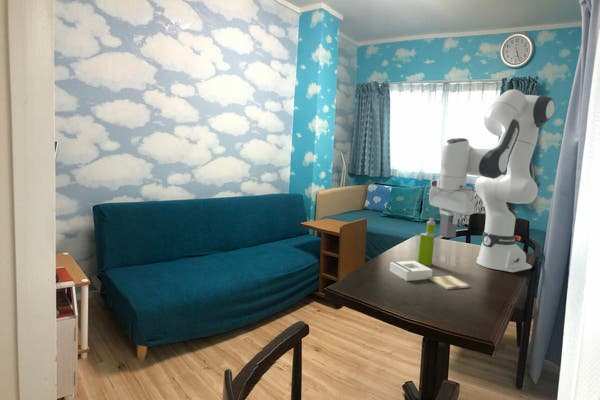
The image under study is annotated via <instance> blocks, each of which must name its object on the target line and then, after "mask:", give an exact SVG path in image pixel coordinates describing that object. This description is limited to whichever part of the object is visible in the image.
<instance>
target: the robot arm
mask: <svg viewBox="0 0 600 400" xmlns="http://www.w3.org/2000/svg"><path fill="white" fill-rule="evenodd" d="M554 112H555V101H554V99H553V98H552V97H551V96H549V95H544V94H543V95H536V94H524V93H523V92H522V91H521V90H519V89H508V90H505V92H503V93H501V95H499V97H497V99H496V100H495V101H494V102H493V103H492V104H491V106H490V107H489V108H488V110H487V111H486V113H485V115H484V118H483V124H484V126H485V129H486V130H487V131H488V132H489V133H491V134H492V135H493V136H497V137H499V140H498V142H497V145H495V146H494V147H492V148H476V147H475V148H474V147H473V146H471V145H470V143H469V142H470V141H469V139H468V138H462V137H459V138H450V139H447V140H446V141H445V143H444V145H443V149H442V154H441V162H440V163H441V167H442V168H441V172H440V175H439V177H440V178H436V179H433V180H431V181H430V185H429V186H430V188H429V195H428V196H429V197H428V202H429V205H430V206H432V207H436V208H439V210H438V211H439V214H440V215H441V211H453V212H454V217H453V219H451V223H452V224H457V225H458V223H459V219H460V217H461V216H462V215H467V216H468V215H469V216H470V215H473V214H474V213H475V211H476V202H475V201H476V199H475V193H476V195H477V196H479V198H480V200H481V201H482V203H483V207H484V210H485V211H484V212H485V222H484V223H485V224H484V230H483V232H482V242H481V245H480V248H479V253H478V256H477V257H476V264H477V265H479V266H481V267H484V268H488V269H493V270H497V271H498V270H499V271H504V272H509V273H516V272H521V271H525V270H530V269H532V268H533V267H532V265H531V264H529V263H528V262H527V254H526V252H525V251H524V250H522V248H520V247H519V246H518V244H517V243H516V241H517V242H520V241H521V239H522V237H521V236H520V235H514V234H515V226H516V216H515V214H514V213H513V212H512V211H510V209H509V208H508V206H507V203H509V204H516V205H517V204H519V205H520V204H521V205H522V204H526V205H527V204H532V202H533V201H534V200H536V198H537V196H538V193H539V188H538V184H537V182H536V181H535V180H534V179H533V177H532V175H531V172H530V165H531V160H532V157H533V154H534V152H535V148H536V145H537V141H538V137H539V131H540V128H541V127H542V126H543V125H544V124H546V123H547V122H549V120H550V119H551V118H552V116H553V115H554ZM505 172H506V174H505V175H504V173H505ZM468 175H471V176H477V177H478V178H477V179H476V181H475V183H474V190H473V189H472V187H470V186H467V179H468Z"/></svg>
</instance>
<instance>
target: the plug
mask: <svg viewBox="0 0 600 400" xmlns="http://www.w3.org/2000/svg"><path fill="white" fill-rule="evenodd" d="M453 217H454V212H453V211H450V210H446V211H441V214H440V222H439V231H438V235H439V236H441V237H444V238H447V239H449V238H456V237H457V228H458V223H457V224H452V223H451V219H453Z"/></svg>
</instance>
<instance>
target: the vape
mask: <svg viewBox="0 0 600 400" xmlns="http://www.w3.org/2000/svg"><path fill="white" fill-rule="evenodd" d="M435 230H436V221H435V220H434V217H429V220H428V221H426V231H425V232H421V233H419V243H418V244H419V245H418V255H417V262H418V263H420V264H422V265H424V266H426V267H428V266H432V265H433V257H434V256H433V255H434V246H435V237H436V236H435Z"/></svg>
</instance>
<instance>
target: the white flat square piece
mask: <svg viewBox="0 0 600 400" xmlns="http://www.w3.org/2000/svg"><path fill="white" fill-rule="evenodd" d="M389 271H390V273H393V274H394V275H396V276H398V277H399V278H401V279H402V280H404V281H406V282H409V281H420V280H421V281H422V280H429V277H433V269H431V268H429V267H428V266H427V265H423V264H420V263H418V261H416V260H407V261H406V260H404V261H402V260H401V261H394V260H393V261H391V262H390V263H389Z"/></svg>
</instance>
